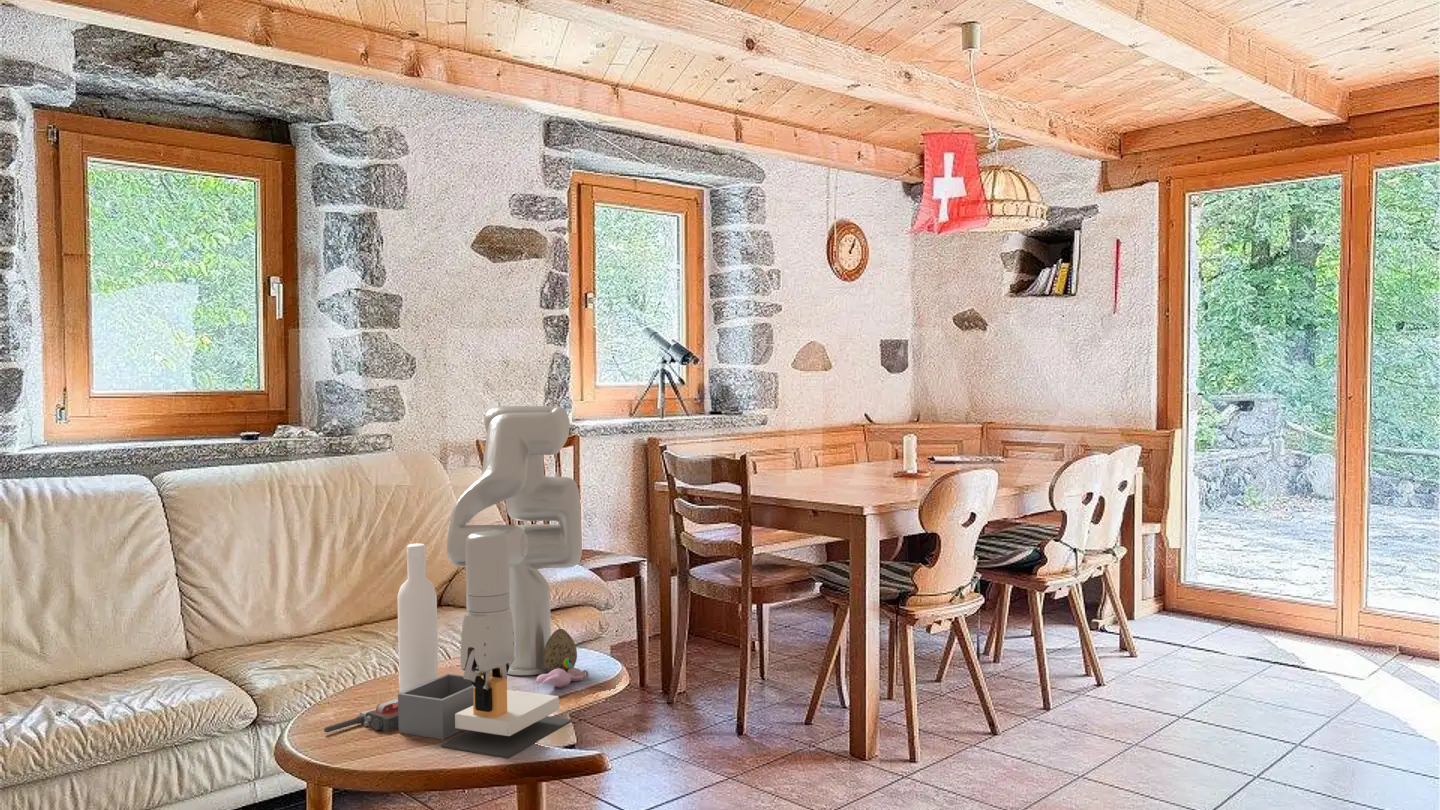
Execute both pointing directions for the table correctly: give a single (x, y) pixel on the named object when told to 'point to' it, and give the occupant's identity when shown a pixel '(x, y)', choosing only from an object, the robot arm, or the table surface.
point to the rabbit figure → (563, 675)
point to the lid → (507, 710)
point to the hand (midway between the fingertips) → (490, 706)
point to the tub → (434, 706)
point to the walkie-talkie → (374, 718)
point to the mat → (506, 738)
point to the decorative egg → (559, 650)
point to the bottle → (417, 623)
